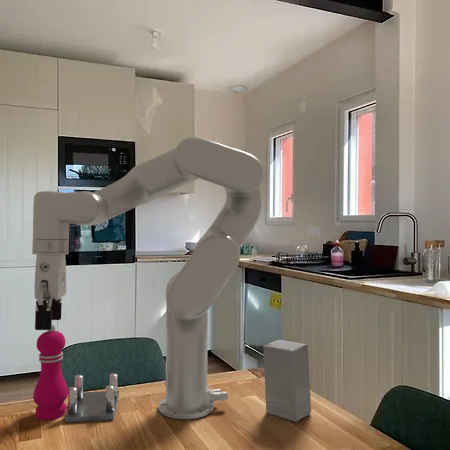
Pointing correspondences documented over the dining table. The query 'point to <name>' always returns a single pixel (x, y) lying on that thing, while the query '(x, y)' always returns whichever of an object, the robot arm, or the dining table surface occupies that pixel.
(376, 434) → the dining table surface
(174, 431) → the dining table surface
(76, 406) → the stand
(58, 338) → the pepper mill
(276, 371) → the skincare box
